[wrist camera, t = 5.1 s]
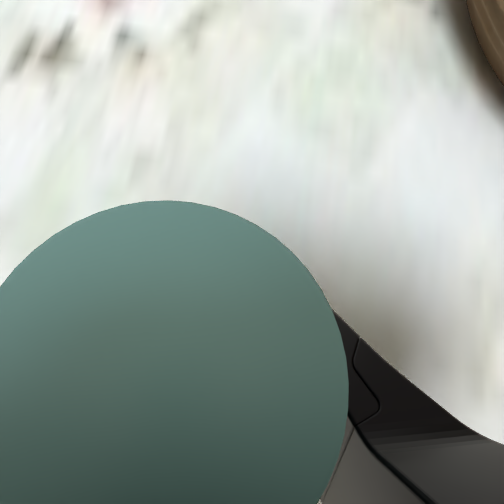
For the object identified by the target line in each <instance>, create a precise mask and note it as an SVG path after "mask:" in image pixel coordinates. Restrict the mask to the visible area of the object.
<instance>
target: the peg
mask: <svg viewBox="0 0 504 504" xmlns="http://www.w3.org/2000/svg"><path fill="white" fill-rule="evenodd" d="M348 393H349V381H348V371H347V361H346V355H345V351H344V346H343V342H342V338H341V333H340V331H339V328H338V325H337V322H336V320H335V317H334V314H333V311H332V309H331V307H330V305H329V303H328V301H327V300H326V298H325V296H324V294H323V292H322V290H321V288H320V287H319V285H318V284H317V282H316V281H315V279H314V278H313V277H312V275H311V274H310V272H309V271H308V269H307V268H306V267H305V266H304V265H303V264H302V263H301V262H300V260H299V259H298V258H297V257H296V256H295V255H294V254H293V253H292V252H291V251H290V250H289V249H288V248H287V247H286V246H284V245H283V244H282V243H281V242H280V241H279V240H277V239H276V238H275V237H274V236H272V235H271V234H269V233H268V232H266V231H265V230H263V229H262V228H260V227H259V226H257V225H256V224H254V223H252V222H249V221H247V220H245V219H243V218H241V217H239V216H237V215H235V214H232V213H230V212H227V211H224V210H221V209H218V208H215V207H211V206H206V205H202V204H197V203H192V202H181V201H146V202H139V203H133V204H127V205H121V206H118V207H115V208H111V209H108V210H105V211H101V212H98V213H96V214H93V215H91V216H89V217H86V218H84V219H82V220H80V221H77V222H75V223H73V224H72V225H70V226H68V227H67V228H65V229H63V230H62V231H60V232H58V233H56V234H55V235H53V236H52V237H51V238H49V239H48V240H47V241H45V242H44V243H43V244H41V245H40V246H39V247H37V248H36V249H35V250H34V251H33V252H31V253H30V254H29V255H28V256H27V257H26V258H25V259H24V260H23V261H22V262H21V263H20V264H19V265H18V266H17V267H16V268H15V269H14V270H13V272H12V273H11V274H10V275H9V277H8V278H7V279H6V280H5V281H4V283H3V284H2V285H1V286H0V504H317V503H318V501H319V499H320V497H321V496H322V494H323V492H324V490H325V489H326V487H327V485H328V482H329V480H330V477H331V475H332V473H333V470H334V468H335V465H336V463H337V460H338V457H339V453H340V449H341V445H342V442H343V438H344V434H345V427H346V420H347V413H348Z"/></svg>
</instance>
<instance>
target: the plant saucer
mask: <svg viewBox="0 0 504 504" xmlns="http://www.w3.org/2000/svg"><path fill="white" fill-rule="evenodd" d="M466 2H467V6H468V10H469V14H470V18H471V22H472V25H473V28H474V31H475V33H476V36H477V39H478V41H479V43H480V46H481V48H482V50H483V52H484V54H485V56H486V58H487V60H488V62H489V64H490V66H491V67H492V69H493V71H494V72H495V74H496V76H497V77H498V79H499V80H500V82H501V83H502V85H503V86H504V0H466Z"/></svg>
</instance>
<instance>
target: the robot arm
mask: <svg viewBox="0 0 504 504" xmlns="http://www.w3.org/2000/svg"><path fill="white" fill-rule="evenodd" d="M332 311H333V310H332ZM333 314H334V317H335V320H336V322H337V325H338V328H339V331H340V333H341V338H342V342H343V346H344V351H345V355H346V361H347V371H348V381H349V393H348V413H347V420H346V427H345V434H344V438H343V442H342V445H341V449H340V453H339V457H338V460H337V463H336V465H335V468H334V470H333V473H332V475H331V477H330V480H329V482H328V485H327V487H326V489H325V490H324V492H323V494H322V496H321V497H320V499H321V502H322V504H504V445H503V444H501V443H498V442H496V441H493V440H491V439H489V438H487V437H485V436H483V435H481V434H479V433H477V432H475V431H474V430H472V429H470V428H469V427H467V426H466V425H464V424H463V423H461V422H460V421H459V420H457V419H456V418H455V417H454V416H452V415H451V414H450V413H449V412H447V411H446V410H445V409H444V408H442V407H441V406H440V405H439V404H437V403H436V402H435V401H434V400H432V399H431V398H430V397H429V396H427V395H426V394H425V393H424V392H423V391H421V390H420V389H419V388H418V387H416V386H415V385H414V384H413V383H411V382H410V381H409V380H408V379H406V378H405V377H404V376H403V375H402V374H401V373H399V372H398V371H397V370H396V369H395V368H393V367H392V366H391V365H390V364H389V363H387V362H386V361H385V360H384V359H383V358H382V357H381V356H380V355H379V354H378V353H377V352H376V351H374V350H373V349H372V348H371V347H370V346H369V345H368V344H367V343H366V342H365V341H364V340H363V339H362V338H360V337H359V335H358V334H357V333H356V332H355V331H354V330H353V329H352V328H351V327H350V326H349V325H348V324H347V323H345V322H344V321H343V320H342V319H341V318H340V317H339V316H338V315H337V314H336V313H335V312H334V311H333ZM359 338H360V339H359Z"/></svg>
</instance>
